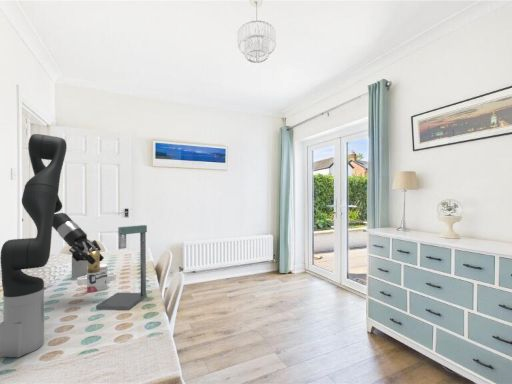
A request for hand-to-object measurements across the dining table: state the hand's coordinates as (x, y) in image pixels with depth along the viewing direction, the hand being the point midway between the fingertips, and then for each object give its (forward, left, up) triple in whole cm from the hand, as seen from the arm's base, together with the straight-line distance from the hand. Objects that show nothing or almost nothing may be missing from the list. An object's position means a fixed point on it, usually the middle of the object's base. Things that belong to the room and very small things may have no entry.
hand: (97, 261), depth 113 cm
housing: (0, +2, -5) cm, 5 cm away
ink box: (+14, +11, -18) cm, 25 cm away
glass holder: (+33, +32, -18) cm, 49 cm away
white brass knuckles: (+27, +21, -18) cm, 39 cm away
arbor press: (0, -11, -18) cm, 21 cm away
